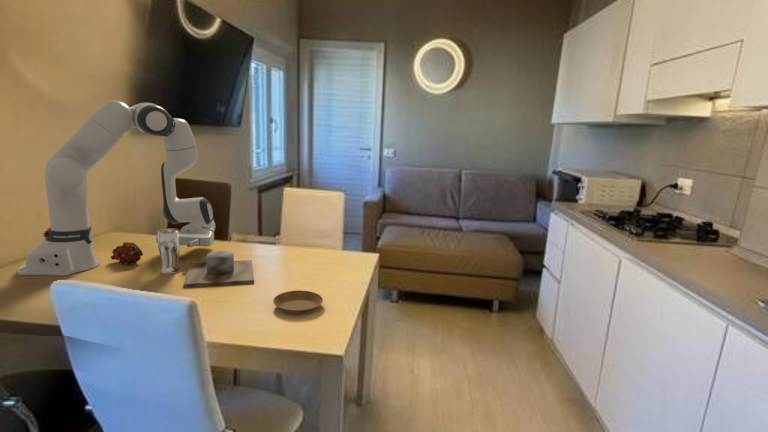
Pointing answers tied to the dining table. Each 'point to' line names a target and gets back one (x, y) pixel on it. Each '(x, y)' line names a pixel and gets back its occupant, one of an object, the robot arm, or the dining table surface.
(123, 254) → the brown pine cone
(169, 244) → the beer glass
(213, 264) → the post stand
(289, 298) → the plant saucer
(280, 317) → the dining table surface
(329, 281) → the dining table surface
